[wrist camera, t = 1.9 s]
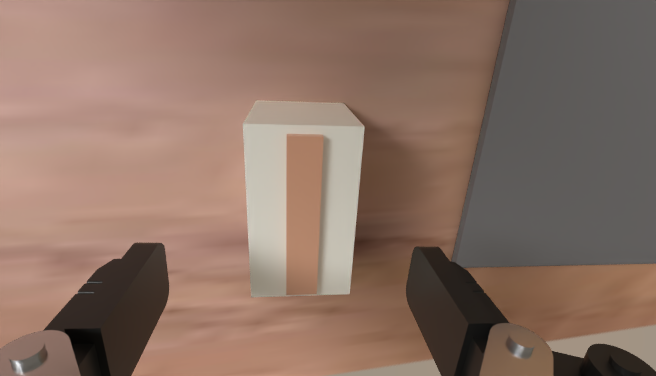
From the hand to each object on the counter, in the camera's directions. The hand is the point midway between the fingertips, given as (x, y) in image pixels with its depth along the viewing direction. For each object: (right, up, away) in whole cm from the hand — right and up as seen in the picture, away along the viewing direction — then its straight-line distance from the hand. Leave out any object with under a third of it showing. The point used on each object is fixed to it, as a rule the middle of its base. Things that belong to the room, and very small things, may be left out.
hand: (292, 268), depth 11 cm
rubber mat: (+19, +5, +7) cm, 21 cm away
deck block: (0, +3, +6) cm, 7 cm away
